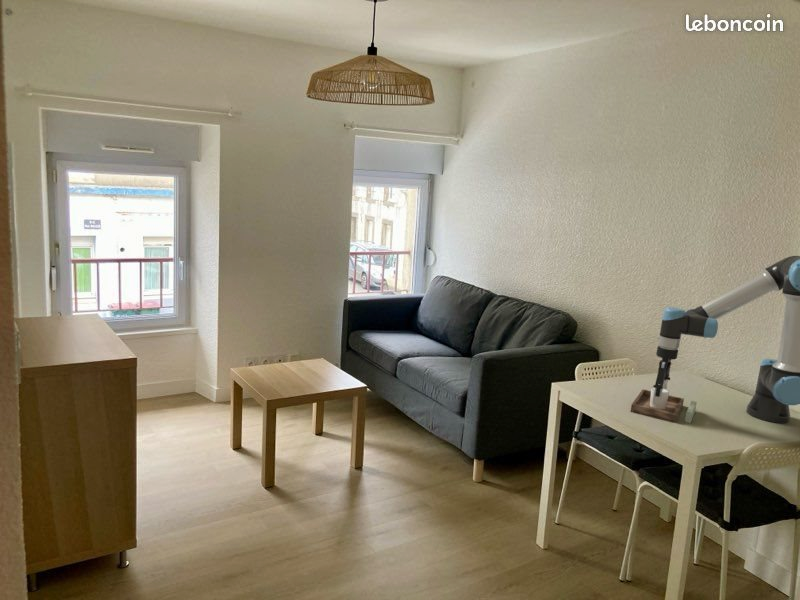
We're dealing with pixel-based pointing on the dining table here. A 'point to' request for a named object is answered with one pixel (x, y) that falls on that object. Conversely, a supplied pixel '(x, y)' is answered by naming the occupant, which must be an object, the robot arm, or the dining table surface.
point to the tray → (668, 414)
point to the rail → (690, 411)
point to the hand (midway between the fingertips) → (658, 399)
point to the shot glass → (663, 399)
